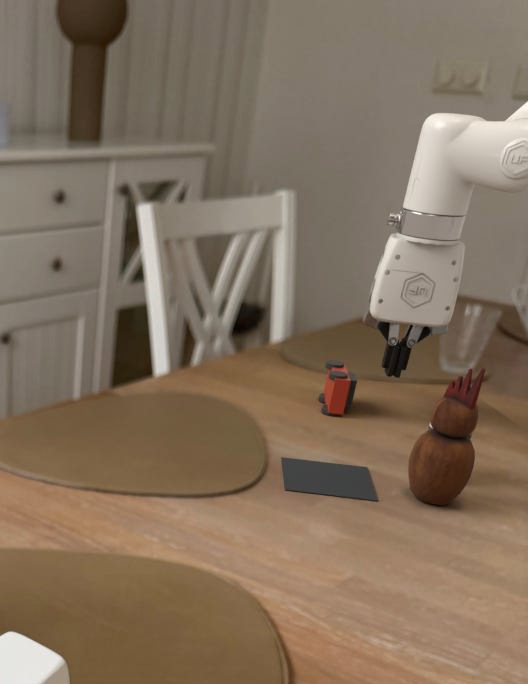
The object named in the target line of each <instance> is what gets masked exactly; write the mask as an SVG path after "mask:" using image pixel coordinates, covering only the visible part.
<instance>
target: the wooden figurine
mask: <svg viewBox="0 0 528 684" xmlns="http://www.w3.org/2000/svg"><path fill="white" fill-rule="evenodd" d="M485 373H486V368H481V370H480V371H479V372H478V374H477V376H476V378H475V380H474V381H473V383H472V378H473V368H469V369H468V371H467V373H466V375H465V377H463V376H462V375H459V376H458V377H457V380H456V381H455V380H451V381H450V382H449V383H448V385H447V388H446V390H445V392H444V394H443V396H442V397H440V399H438V400H437V401H436V402H435V404H434V405H433V407H432V410H431V413H430V418H429V424H430V423H431V426H432V429H429V430H428V429H427V430H426V431H424V432H423V433H422V434H420V435H419V437H418V438H417V439H416V441H415V442H414V443H413V446H412V449H411V450H410V455H409V458H408V467H407V468H408V469H407V472H408V473H407V475H408V485H409V490H410V491H411V493H412V495H413V496H414V497H415V498H416V499H418V500H420V501H421V502H424V503H427V504H431V505H440V506H443V505H448V504H450V503H452V502H453V501H455V500H456V499H457V498H458V497H459V495H460V494H461V493H462V492H463V490H465V487H466V486H467V484H468V482H469V480H470V478H471V476H472V473H473V469H474V465H475V460H476V458H475V457H476V454H475V453H476V451H475V448H474V445H473V442H472V439H469V438H468V437H466V436H468V435H470V434H471V433H472V434H473V432H474V431H475V429H476V427H477V424H478V421H479V412H480V411H479V406H478V404H477V402H478V399H479V395H480V392H481V388H482V384H483V380H484V377H485Z"/></svg>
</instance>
